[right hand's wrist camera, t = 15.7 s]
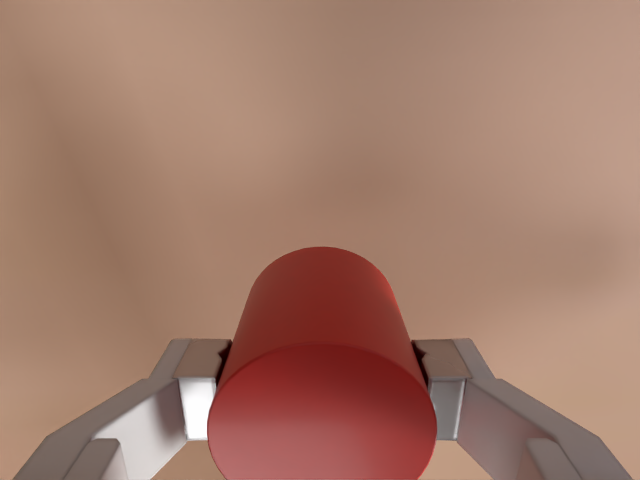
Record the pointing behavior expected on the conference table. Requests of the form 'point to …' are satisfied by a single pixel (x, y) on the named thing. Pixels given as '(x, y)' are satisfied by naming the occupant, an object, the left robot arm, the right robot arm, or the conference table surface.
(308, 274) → the canister
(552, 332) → the conference table surface
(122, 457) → the right robot arm
